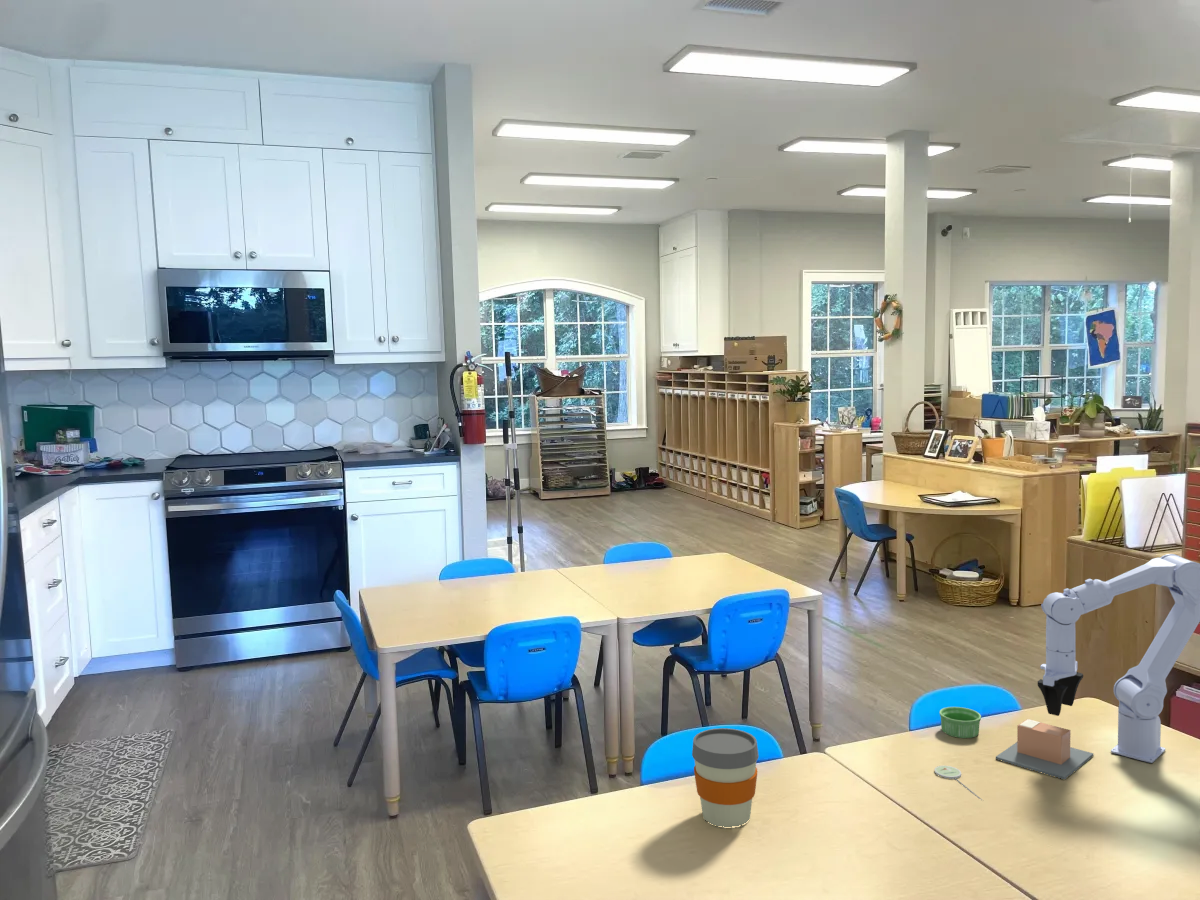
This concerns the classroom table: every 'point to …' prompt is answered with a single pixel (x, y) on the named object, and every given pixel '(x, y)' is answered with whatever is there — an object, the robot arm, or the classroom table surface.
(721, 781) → the reusable coffee cup
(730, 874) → the classroom table surface
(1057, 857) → the classroom table surface
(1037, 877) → the classroom table surface
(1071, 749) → the mat
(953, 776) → the sign
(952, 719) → the ramekin
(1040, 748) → the brick
